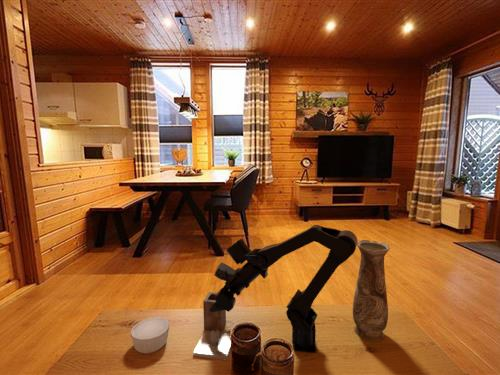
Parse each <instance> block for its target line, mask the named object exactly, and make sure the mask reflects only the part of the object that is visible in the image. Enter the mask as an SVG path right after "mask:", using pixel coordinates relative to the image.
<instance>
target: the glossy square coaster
mask: <svg viewBox="0 0 500 375" xmlns="http://www.w3.org/2000/svg"><path fill="white" fill-rule="evenodd" d="M230 334H231V333H230V332H229V333H228V332H222V331H217V330H204V331H203V333H202V335H201V337H200V339H199V341H198V343H197V345H196V346H195V348H194V350H193V352H192V356H194V357H200V358H208V359H216V360H222V361H223V360H224V361H227V360H228V357H229V354H230V351H231V348H232V346H231V341H230Z"/></svg>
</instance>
